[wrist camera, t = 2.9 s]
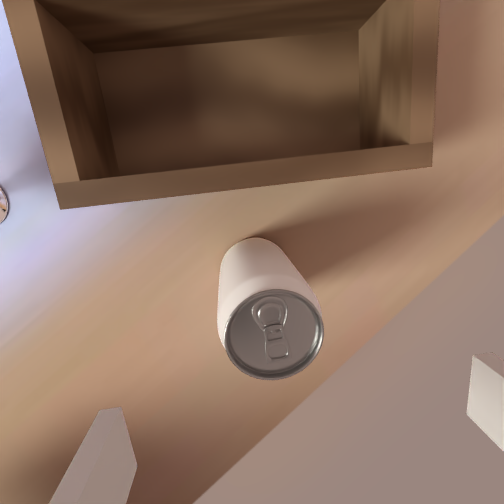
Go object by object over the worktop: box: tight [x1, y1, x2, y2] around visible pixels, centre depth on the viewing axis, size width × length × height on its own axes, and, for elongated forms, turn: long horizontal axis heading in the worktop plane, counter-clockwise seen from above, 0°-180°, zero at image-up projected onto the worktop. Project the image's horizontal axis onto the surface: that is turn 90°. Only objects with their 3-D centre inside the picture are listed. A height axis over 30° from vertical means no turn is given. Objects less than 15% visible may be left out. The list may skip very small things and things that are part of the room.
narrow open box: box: [2, 0, 440, 210], centre depth 20 cm, size 12×23×8 cm, turn 96°
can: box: [217, 238, 324, 380], centre depth 22 cm, size 6×6×12 cm
